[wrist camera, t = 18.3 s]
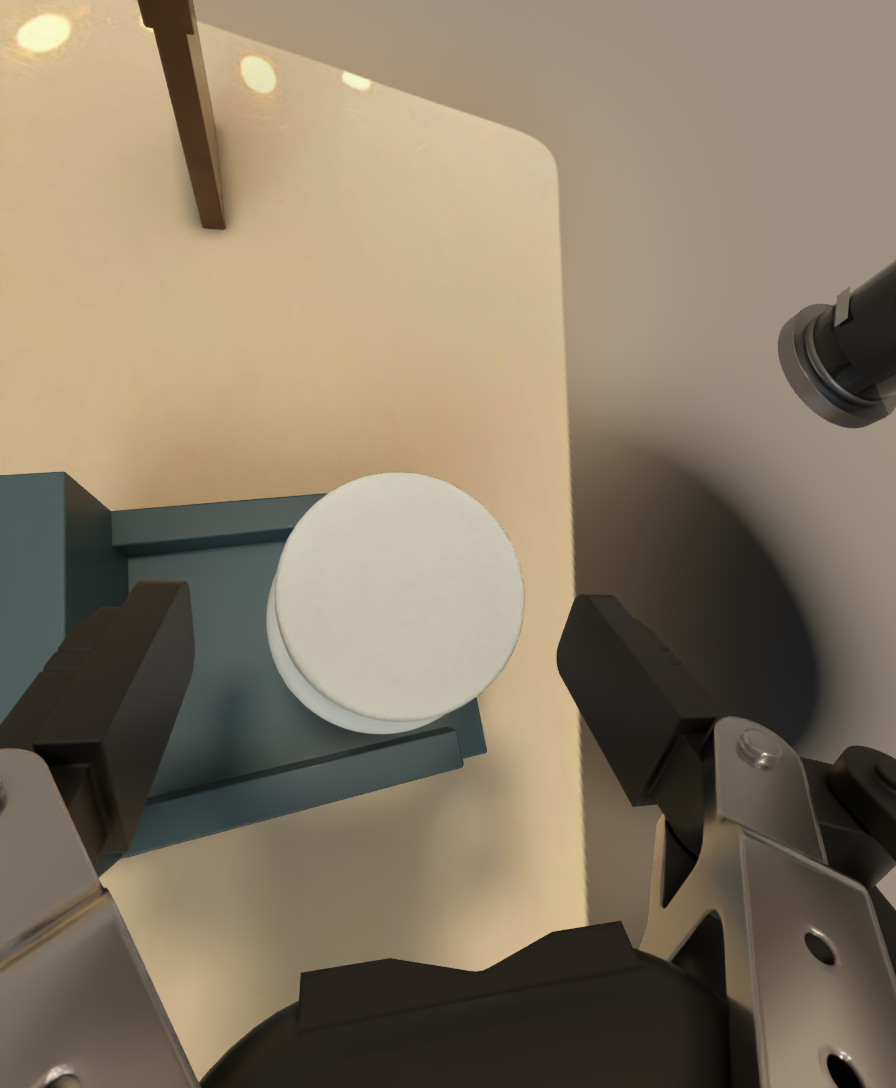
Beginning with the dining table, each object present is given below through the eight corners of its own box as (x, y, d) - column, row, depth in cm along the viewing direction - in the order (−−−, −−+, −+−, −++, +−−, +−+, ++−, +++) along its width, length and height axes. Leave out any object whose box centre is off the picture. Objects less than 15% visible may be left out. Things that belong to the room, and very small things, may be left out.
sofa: (424, 516, 26) (467, 446, 18) (467, 744, 23) (539, 772, 16) (88, 550, 21) (-35, 476, 14) (93, 839, 18) (-58, 942, 11)
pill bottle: (460, 623, 21) (599, 562, 11) (376, 748, 19) (449, 825, 9) (349, 539, 21) (381, 394, 11) (251, 655, 19) (167, 617, 8)
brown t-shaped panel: (220, 124, 29) (176, -136, 20) (231, 230, 27) (187, -3, 18) (187, 120, 29) (126, -149, 20) (196, 227, 27) (133, -14, 18)
